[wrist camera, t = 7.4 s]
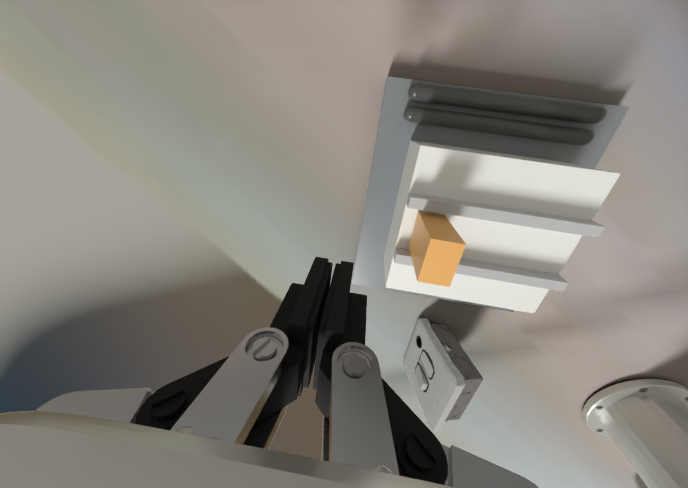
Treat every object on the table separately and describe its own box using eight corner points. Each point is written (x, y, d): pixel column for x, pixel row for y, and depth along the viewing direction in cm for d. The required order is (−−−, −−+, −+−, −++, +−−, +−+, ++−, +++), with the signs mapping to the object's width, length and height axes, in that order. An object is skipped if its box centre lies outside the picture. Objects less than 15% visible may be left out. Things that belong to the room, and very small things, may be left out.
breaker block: (613, 108, 21) (755, 98, 13) (507, 303, 30) (552, 366, 22) (386, 79, 22) (391, 53, 14) (353, 276, 31) (344, 327, 23)
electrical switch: (418, 313, 32) (441, 380, 24) (456, 318, 33) (492, 386, 24) (401, 361, 37) (416, 431, 28) (436, 364, 37) (460, 436, 29)
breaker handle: (444, 215, 18) (466, 244, 14) (433, 250, 20) (449, 287, 15) (418, 210, 19) (430, 238, 14) (408, 246, 20) (417, 281, 15)
